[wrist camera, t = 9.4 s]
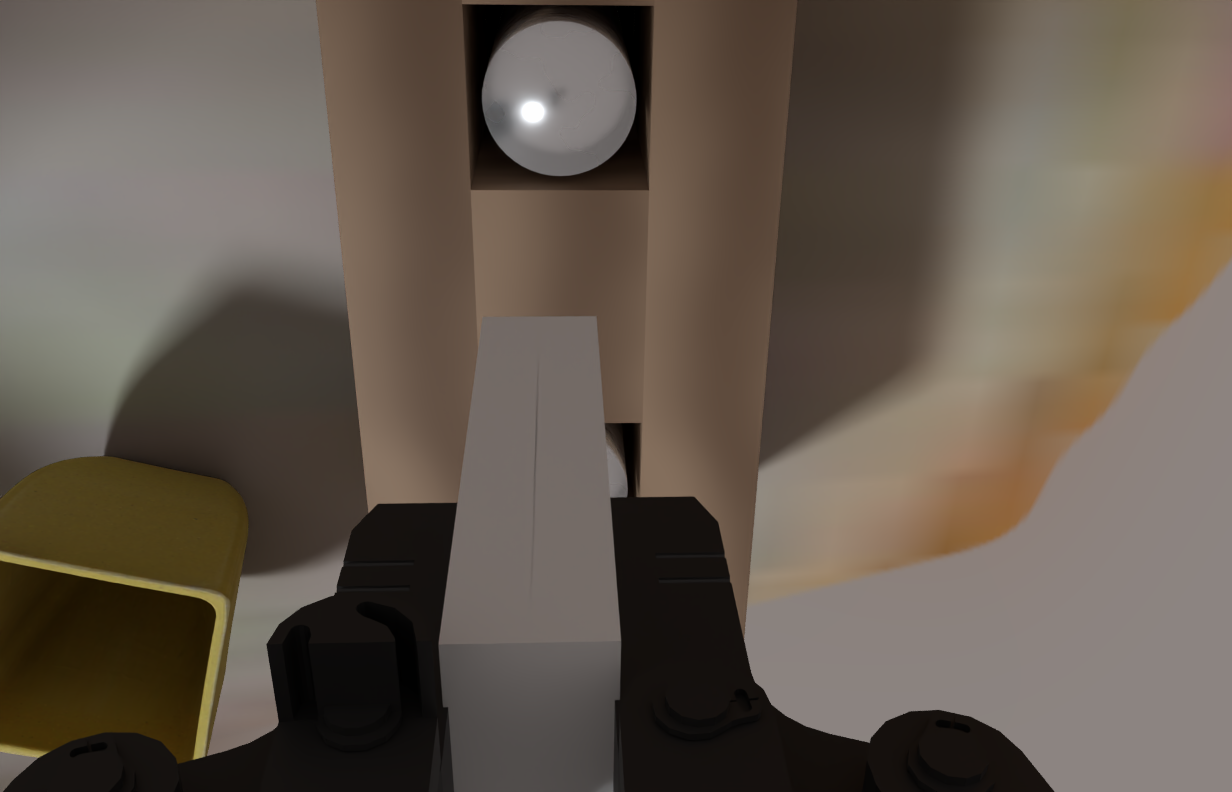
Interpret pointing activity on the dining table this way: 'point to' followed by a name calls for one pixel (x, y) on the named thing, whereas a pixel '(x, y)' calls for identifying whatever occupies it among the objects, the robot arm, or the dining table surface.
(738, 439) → the tan grooved block
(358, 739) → the robot arm
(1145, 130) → the dining table surface
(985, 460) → the dining table surface
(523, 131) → the peg
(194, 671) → the flower pot
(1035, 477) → the dining table surface
